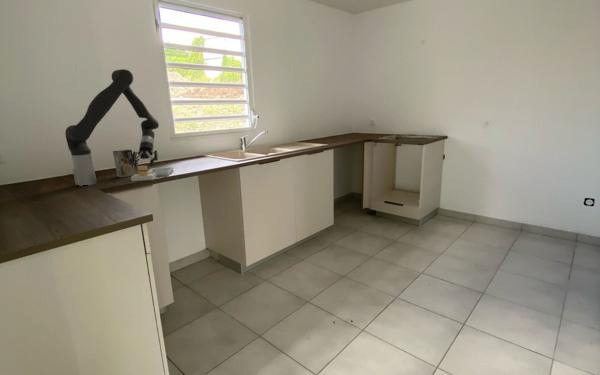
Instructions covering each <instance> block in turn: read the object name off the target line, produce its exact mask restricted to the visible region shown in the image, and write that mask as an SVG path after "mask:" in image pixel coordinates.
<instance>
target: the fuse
mask: <svg viewBox="0 0 600 375" xmlns="http://www.w3.org/2000/svg"><path fill="white" fill-rule="evenodd" d="M136 169H137V172H138V173H137V174H139V176H142V175H148V171H149V169H148V165H138V166H137V167H136Z"/></svg>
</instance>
